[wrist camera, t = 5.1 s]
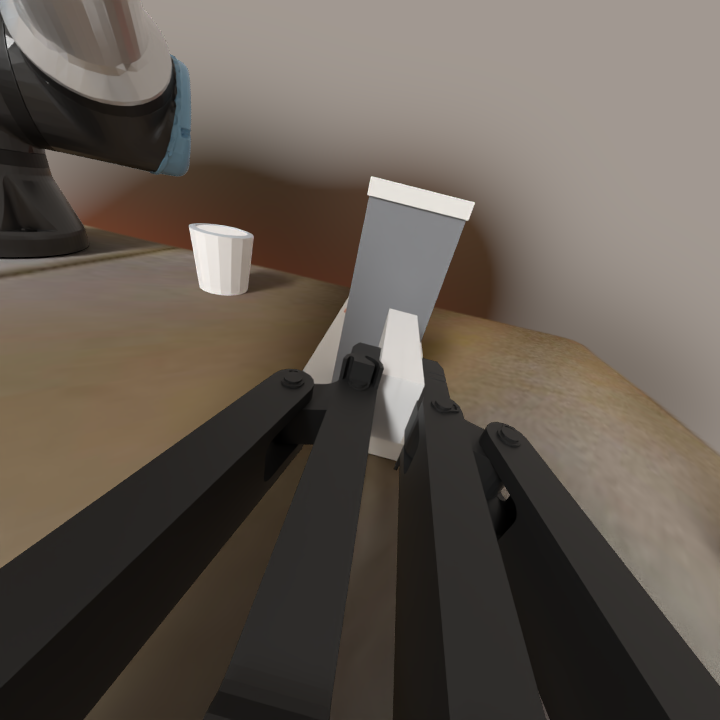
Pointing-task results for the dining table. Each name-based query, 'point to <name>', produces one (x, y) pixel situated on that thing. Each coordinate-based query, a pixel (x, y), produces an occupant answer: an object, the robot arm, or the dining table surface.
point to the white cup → (222, 258)
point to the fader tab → (399, 259)
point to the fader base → (322, 373)
